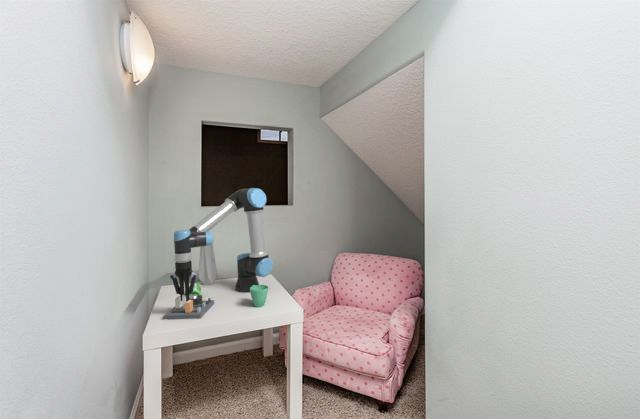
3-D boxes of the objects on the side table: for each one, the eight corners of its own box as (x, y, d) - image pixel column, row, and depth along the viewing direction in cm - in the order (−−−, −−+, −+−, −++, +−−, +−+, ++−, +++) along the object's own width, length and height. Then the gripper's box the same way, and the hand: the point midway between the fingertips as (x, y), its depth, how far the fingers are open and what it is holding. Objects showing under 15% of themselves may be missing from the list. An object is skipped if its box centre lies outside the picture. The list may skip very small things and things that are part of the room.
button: (199, 300, 171) (199, 293, 171) (196, 302, 167) (196, 296, 167) (191, 300, 171) (191, 294, 171) (188, 303, 167) (187, 296, 167)
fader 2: (193, 309, 158) (192, 299, 157) (190, 312, 154) (189, 302, 153) (188, 309, 158) (188, 299, 157) (185, 312, 154) (184, 302, 153)
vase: (221, 281, 218) (219, 235, 217) (211, 286, 207) (209, 237, 205) (205, 280, 221) (204, 235, 219) (195, 285, 210) (193, 237, 208)
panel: (214, 303, 173) (213, 294, 173) (200, 318, 152) (200, 308, 152) (181, 304, 172) (181, 295, 172) (163, 319, 151) (163, 309, 151)
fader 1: (183, 305, 164) (182, 295, 164) (180, 308, 160) (179, 298, 160) (178, 305, 164) (178, 295, 164) (175, 308, 160) (175, 298, 160)
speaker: (200, 302, 175) (200, 289, 175) (186, 304, 173) (186, 291, 172) (201, 293, 192) (200, 281, 191) (188, 295, 189) (188, 283, 189)
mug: (271, 306, 166) (271, 288, 166) (254, 310, 161) (253, 291, 161) (261, 299, 179) (260, 282, 178) (244, 302, 173) (244, 285, 173)
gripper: (199, 259, 158) (201, 304, 159) (173, 259, 158) (175, 304, 159) (193, 262, 151) (195, 309, 152) (166, 262, 150) (168, 310, 152)
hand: (185, 307), depth 155 cm, fingers closed
